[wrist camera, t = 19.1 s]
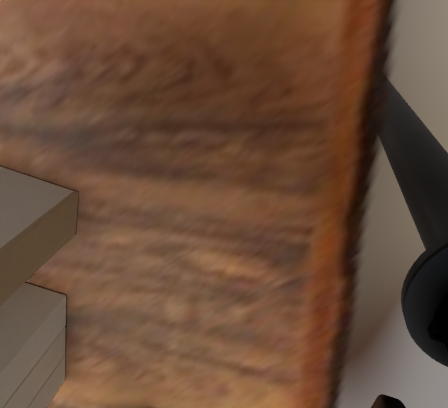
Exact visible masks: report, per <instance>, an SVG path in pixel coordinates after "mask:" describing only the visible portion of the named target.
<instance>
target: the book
mask: <svg viewBox="0 0 448 408" xmlns="http://www.w3.org/2000/svg"><path fill="white" fill-rule="evenodd" d="M78 197H79V192H78V191H72V190H69V189H66V188H63V187H60V186H57V185H54V184H51V183H48V182H45V181H42V180H39V179H36V178H33V177H31V176H28V175H25V174H22V173H19V172H16V171H13V170H10V169H7V168H4V167H1V166H0V306H1V305H2V304H3V303H4V302H5V301H6V300H7V299H8V298H9V297H10V296H11V295H12V294H13V293H14V292H15V291H16V290H17V289H18V288H19V287H21V286H22V285H23V284H24V283H25V282H26V281H27V280H28V279H29V278H30V277H31V276H32V275H33V274H34V273H35V272H36V271H37V270H38V269H39V268H40V267H41V266H42V265H43V264H44V263H46V262H47V261H48V260H49V259H50V258H51V257H52V256H53V255H54V254H55V253H56V252H57V251H58V250H59V249H60V248H61V247H62V246H63V245H64V244H65V243H66V242H67V241H68V240H69V239H71V238H72V237H73V236H74V235H75V233H76V221H77V209H78Z"/></svg>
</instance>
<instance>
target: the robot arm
mask: <svg viewBox="0 0 448 408" xmlns="http://www.w3.org/2000/svg"><path fill="white" fill-rule="evenodd" d="M434 315H435V317H434V318H433V320H432V322H431V323H430V325H429V327H428V329H427V331H428V334H429V337H430V338H431V339H432V340H435V341H438V342H441V343H445V346H446V349H447V352H448V291H447V293H446V294H445V296H444V297H443V299H442V301H441V302H440V304H439V306H438V307H437V309H436V311H435V312H434ZM437 331H439V333H434V332H437ZM371 408H406V407H405V406H404V404H403V403H402V402H401V401H400V400H398V399H396V398H393V397H390V396H387V395H382V394H381V395H379V396H378V397H377V398H376V400H375V402H374V403H373V405H372V407H371Z"/></svg>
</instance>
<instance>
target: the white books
mask: <svg viewBox="0 0 448 408" xmlns="http://www.w3.org/2000/svg"><path fill="white" fill-rule="evenodd" d="M65 326H66V295H63V294H60V293H57V292H53V291H50V290H47V289H44V288H41V287H38V286H34V285H31V284H28V283H24V284H23V285H22V286H21V287H19V288H18V289H17V290H16V291H15V292H14V293H13V294H12V295H11V296H10V297H9V298H8V299H7V300H6V301H5V302H4V303H3V304H2V305H1V306H0V408H47V406H48V405H49V403H50V402H51V400H52V399H53V397H54V396H55V394H56V393H57V391H58V390H59V388H60V387H61V385H62V384H63V382H64V381H65V335H66V327H65Z"/></svg>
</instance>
